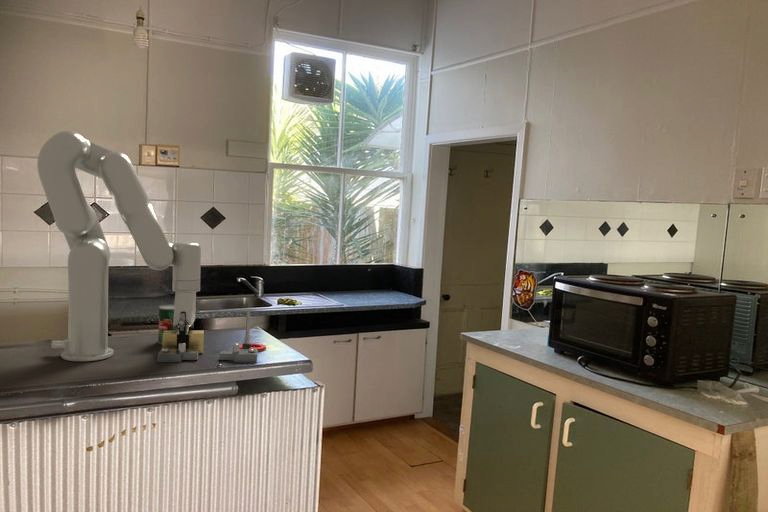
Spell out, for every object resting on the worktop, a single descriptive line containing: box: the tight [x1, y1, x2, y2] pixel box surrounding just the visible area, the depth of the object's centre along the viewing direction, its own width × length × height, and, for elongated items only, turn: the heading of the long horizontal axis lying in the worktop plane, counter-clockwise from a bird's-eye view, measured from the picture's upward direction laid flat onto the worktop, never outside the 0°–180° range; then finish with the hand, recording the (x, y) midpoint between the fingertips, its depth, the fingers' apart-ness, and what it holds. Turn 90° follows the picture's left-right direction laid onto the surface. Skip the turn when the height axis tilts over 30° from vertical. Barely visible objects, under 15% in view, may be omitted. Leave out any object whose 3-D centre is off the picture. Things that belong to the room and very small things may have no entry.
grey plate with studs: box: [157, 342, 258, 363], centre depth 161 cm, size 26×6×4 cm, turn 101°
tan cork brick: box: [161, 329, 205, 354], centre depth 167 cm, size 11×4×6 cm, turn 106°
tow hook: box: [239, 308, 267, 353], centre depth 174 cm, size 8×13×9 cm
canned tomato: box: [157, 304, 178, 345], centre depth 177 cm, size 8×8×11 cm
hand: (185, 344), depth 167 cm, fingers open, 9 cm apart
